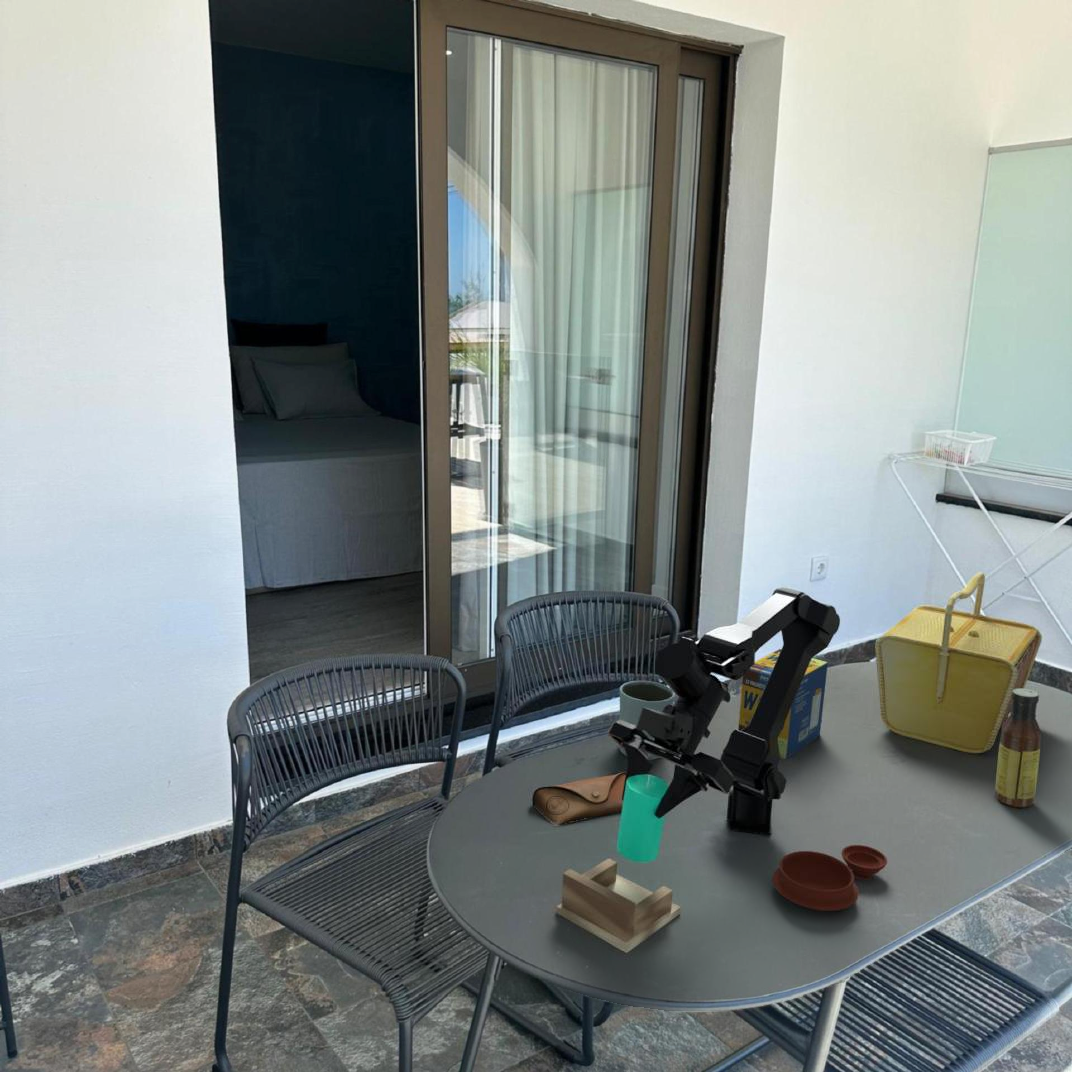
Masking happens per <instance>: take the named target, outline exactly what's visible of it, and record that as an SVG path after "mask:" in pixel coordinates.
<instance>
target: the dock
mask: <svg viewBox="0 0 1072 1072" xmlns="http://www.w3.org/2000/svg"><path fill="white" fill-rule="evenodd" d="M617 867H618V861H615V860H613V859H611V858H607V859H605V860H603V861H601V862H599V863H598V864H596V865H595V866H594V867H592V868H590V869H589V870H587V871H586V872H584V873H582V874H581V873H579V872H577V871H576V870H573V869H572V868H570V869H568V870H566V871H565V872H563V874H562V891H561V903H560V904H558V905H556V909H555V912H556V914H557V915H559V916H561V917H563V918H565V919H566V920H568V921H570V922H571V923H573V924H575V925H577V926H579V927H580V928H582V929H583V930H586V931H587V932H589V933H591V934H592V935H594V936H596V937H598V938H599V939H601V940H603V941H604V942H607V943H608V944H610V945H612V946H613V947H615V948H617V949H618V950H620V951H623V952H624V953H625V954H628V953H629V952H630V951H631V950H633V949H635V948H636V947H637V946H638V945H640V944H641V943H643V942H644V941H646V940H647V939H648V938H649V937H651V936H652V935H653V934H655V933H656V932H657V931H658V930H660V929H661V928H662V927H664V926H665V925H667V924H668V923H669V922H671V921H673V920H674V919H675V918H676V917H677V916H679V915H680V914H681V908H682V907H681V906H680V905H678V904H675V903H673V893H674V891H673V889H671V888H669V887H667V886H666V885H662V886H661V887H659V888H658V889H657V890H655V891H654V892H652V891H650V890H649V889H646V888H644V887H643V886H640V885H639V884H637V883H634V882H633V881H631V880H628V879H627V878H625V877H623V876H622V875H621V876H620V875H619V874H617V871H618V868H617Z"/></svg>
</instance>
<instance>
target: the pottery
mask: <svg viewBox="0 0 1072 1072" xmlns="http://www.w3.org/2000/svg"><path fill="white" fill-rule="evenodd" d="M841 856H842V858H843V861H844V862H843V861H841V860H840V859H838V858H837V857H834V856H832V855H829V854H826V853H822V852H818V851H810V850H809V851H807V850H801V851H800V850H799V851H794V852H790V853H788V854H786V855H784V856H783V857H782V858H781V860H780V861H779V863H778V864H779V866H778V868H777V869H776V870H774V872H773V874H772V877H771V879H772V884H773V886H774V889H776V891H777V892H778V893H779V894H780V895H781V896H782V897H784V898H785V899H787V900H789V901H790V902H792V903H794V904H796V905H797V906H801V907H805V908H806V909H812V910H817V911H826V912H827V911H828V912H829V911H840V910H844V909H847V908H849V907H851V906H852V905H854V904H855V903H856V902H857V900H858V898H859V890H858V886H857V885H856V883H855V878H857V879H860V880H863V881H867V880H871V879H873V877H874V875H876V874H878V873H880V871H881V870H883V869H884V868H885V867H886V865H887V864H888V858H887V856H886V855H885V854H884V853H882V852H881V851H880V850H877V849H876V848H874V847H871V846H869V845H868V846H867V845H861V844H852V845H847V846H845V847H844V848H842V850H841Z"/></svg>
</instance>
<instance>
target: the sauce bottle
mask: <svg viewBox="0 0 1072 1072" xmlns="http://www.w3.org/2000/svg"><path fill="white" fill-rule="evenodd" d="M1039 696H1040V694H1039V693H1038V692H1037V691H1035V690H1033V689H1029V688H1024V689H1023V688H1019V689H1014V690H1013V691H1012V709H1011V712H1010V713H1009V715H1008V717H1007V718H1006V720H1005V721H1004V723H1003V724H1002V726H1001V733H1000V739H999V746H998V755H997V765H996V775H995V777H996V778H995V786H994V789H995V792H994V793H995V797H996V799H997V800H998V801H999V802H1001V803H1002V804H1005V805H1008V806H1011V807H1014V808H1029V807H1032V806H1033V803H1034V801H1035V800H1034V799H1035V796H1036V791H1037V780H1038V773H1039V764H1040V757H1041V756H1040V755H1041V754H1040V753H1041V738H1042V731H1041V728H1040V726H1039V724H1038V721H1037V719H1036V717H1037V715H1036V714H1037V713H1036V711H1037V707H1038V706H1037V704H1038V703H1039V699H1040V698H1039Z"/></svg>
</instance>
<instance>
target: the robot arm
mask: <svg viewBox="0 0 1072 1072" xmlns="http://www.w3.org/2000/svg"><path fill="white" fill-rule="evenodd" d="M840 623H841V618H840V615H839V614H838V613H837V611H836V607H834V606H833V605H829V604H825V603H821V602H819V601H818V600H816V599H814V598H812V597H811V596H809V595H808V594H806V593H805V592H803V591H799V590H795V589H792V588H787V587H783V586H782V587H780V588H779V587H777V588H775V589H774V590H773V593H772V595H771V596H770V597H769V598H768V599H766V600H764V602H762V603H761V604H760V605H759V606H757V607H756V608H755V609H753V610H752V611H751V612H749V614H747V615H746V616H745V617H743V618H742V619H741V620H739V621H738V622H737V623H735V624H732V625H725V626H719V627H717V628H715V629H712V630H711V631H708V632H706V633H705V634H704V635H702V637H701V638H700V639H698V640H697V641H695V640H694V639H691V638H688V637H685V636H681V637H680V639H679V641H678V642H675V643H671V644H669V645H667V646H665V647H664V648H663V649H662V650H660V651H659V652H658V654H656V657H655V660H654V661H655V662H654V667H655V668H654V669H655V671H656V673H657V674H658V675H659V677H660V678H661V680H663V681H664V682H665V684H666V686H667V687H669V688H671V690H672V691H673V692H674V695H676V696H677V697H676V700H674V702H673V706H672V705H669V704H668V705H667V706H665V708H664V710H663V711H662V712H660V711H657V710H653V709H649V708H645V707H642V710H641V713H640V716H639V719H638V722H637V725H636V726H635V725H633V724H630V723H628V722H625V721H623V720H619V719H618V720H616V721H614V722H613V723H612V724H611V725H610V727H609V730H608V731H607V732H606V734H607V735H608V736H609V737H611V739H612V740H613V741H614V742H615V743H616V744H617V745H618V746H620V747H621V748H622V749H624V750H625V751H626V755H627V756H626V771H625V772H626V776H625V782H624V788H623V794H622V800H624V794H625V787H626V781H627V779H628V778H629V777H632V776H635V775H643V774H647V775H649V773H650V771H652V768H653V767H654V765H653V764H652V763H651V762H650V760H647V759H648V757H649V755H650V754H653V755H655V756H657V757H660V759H662V760H665V761H668V762H669V763H672V764H674V770H673V778H672V780H671V782H670V784H669V785H668V789H667V791H666V792H665V794H664V796H663V798H662V800H661V801H660V803H659V805H658V808H657V810H656V812H655V816H656V817H657V818H661V817H662V816H664V815H667V814H668V813H670V811H672V810H673V809H674V808H675V807H677V806H678V805H680V804H681V803H684V801H686V800H688V799H689V798H691V797H693V796H694V795H695V794H696V795H697V794H698V793H700V792H701V791H703V792H707V791H708V789H709V788H711V789H712V790H716V791H717V792H721V793H722V794H725V795H728V798H727V799H728V800H727V812H726V820H727V821H729V822H728V828H729V830H732V831H740V832H747V833H753V834H761V835H771V833H772V825H771V824H772V811H773V810H772V809H773V800H780V799H782V797H781V796H782V794H783V793H784V791H785V788H786V783H787V778H786V777H785V776H784V775H783V774H782V772H781V770H780V769H779V765H780V762H781V757H780V752H779V746H778V737H779V734H780V732H781V729H782V727H783V725H784V722H785V720H786V718H787V715H788V713H789V711H790V708H791V706H792V703H793V701H794V699H795V696H796V694H797V692H798V689H799V687H800V685H801V682H802V680H803V677H804V675H805V673H806V670H807V668H808V666H809V663H810V661H811V659H812V658H814V657H815V656H817V655H818V654H820V653H821V652H823V651H824V650H825V649H827V648H828V647H829V646H830V643H831V641H832V639H833V637H834V635H836V634H837V632H838V631H839V628H840V625H841V624H840ZM780 632H781V637H782V643H783V644H782V646H781V648H780V649H781V652H780V654H779V656H778V659H777V661H776V663H775V666H774V668H773V670H772V673H771V675H770V677H769V679H768V682H767V684H766V686H765V689H764V691H763V693H762V696H761V698H760V700H759V703H758V705H757V707H756V710H755V712H754V714H753V717H752V719H751V721H750V723H749V725H748V726H747V727H745V728H744V729H742V730H741V731H739V730H738V729H736V728H735V729H734V730H733V731H732V732H731V733H730V736H729V738H728V741H727V743H726V745H725V747H724V749H723V750H722V753H721V754H720V758H716V757H715V756H712V755H709V754H707V753H704V752H701V751H699V752H697V753H695V752H696V750H697V748H698V747H699V745H700V744H701V741H702V739H703V738H705V739H708V738H709V737H710V735H711V731H710V730H709V729H708V727H709V726H710V724H711V722H712V720H713V718H714V716H715V714H716V713H717V711H718V709H719V707H720V705H721V703H722V701H723V702H725V703H730V701H731V694H730V691H729V684H728V683H727V682H724V681H721V680H720V679H719V678H718V677H717V676H715V675H718V676H721V677H724V678H726V679H730V680H733V681H738V680H741V679H743V676H744V675H745V674H746V672H747V671H748V670H749V669H750V668H751V667H752V666H753V664H754V663H755V662H756V653H757V652H758V651H759V649H761V648H762V647H763V646H764V645H766V643H768V642H769V641H770V640H771V639H773V638H774V637H775V636H777V634H779V633H780ZM714 674H715V675H714ZM643 730H644V731H646V732H647V733H648V734H649V735H650V736H651V737H653V738H654V740H651V739H649V738H648V737H647V736H646V735H645V734H644V732H643ZM660 750H661V751H663V752H661V751H660ZM664 752H665V753H664ZM707 785H708V786H709V788H708V787H707ZM664 817H665V816H664Z"/></svg>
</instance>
